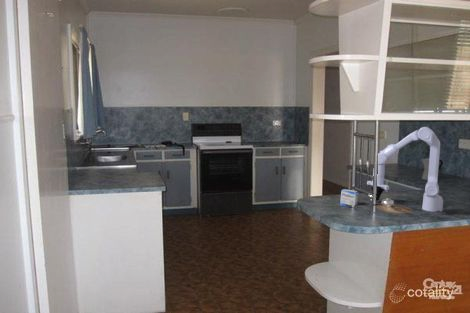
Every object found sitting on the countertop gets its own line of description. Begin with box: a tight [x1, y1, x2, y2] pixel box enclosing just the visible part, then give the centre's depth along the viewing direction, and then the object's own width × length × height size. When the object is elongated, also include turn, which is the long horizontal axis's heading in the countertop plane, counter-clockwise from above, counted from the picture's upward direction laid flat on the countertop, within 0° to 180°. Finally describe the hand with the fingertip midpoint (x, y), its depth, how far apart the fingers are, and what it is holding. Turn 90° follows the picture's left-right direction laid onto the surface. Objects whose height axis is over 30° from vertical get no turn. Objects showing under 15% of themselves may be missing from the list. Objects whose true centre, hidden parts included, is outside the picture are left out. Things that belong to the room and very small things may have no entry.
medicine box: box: [339, 188, 359, 209], centre depth 214 cm, size 8×4×9 cm, turn 56°
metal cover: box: [380, 197, 395, 208], centre depth 211 cm, size 6×6×4 cm
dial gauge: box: [367, 193, 374, 207], centre depth 212 cm, size 4×4×7 cm
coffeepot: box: [420, 157, 444, 181], centre depth 302 cm, size 15×9×18 cm, turn 70°
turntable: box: [375, 203, 414, 214], centre depth 207 cm, size 18×18×2 cm
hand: (376, 200), depth 219 cm, fingers closed
